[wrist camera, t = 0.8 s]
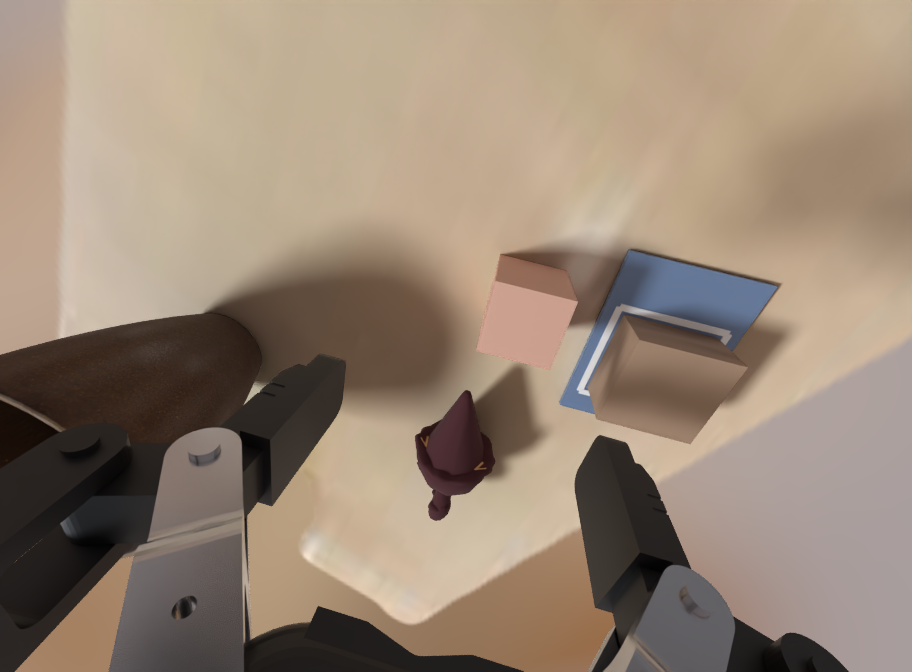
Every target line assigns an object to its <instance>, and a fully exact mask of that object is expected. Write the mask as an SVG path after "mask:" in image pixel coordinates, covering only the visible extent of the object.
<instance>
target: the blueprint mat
mask: <svg viewBox="0 0 912 672" xmlns="http://www.w3.org/2000/svg"><path fill="white" fill-rule="evenodd" d="M776 289H777V286H775V285H773V284H769V283H765V282H760V281H756V280H752V279H748V278H744V277H740V276H736V275H732V274H728V273H724V272H719V271H715V270H711V269H707V268H703V267H699V266H695V265H691V264H687V263H683V262H678V261H674V260H670V259H666V258H662V257H658V256H654V255H650V254H646V253H642V252H637V251H633V250H628V253H627V255H626V257H625V259H624V261H623V264H622V266H621V268H620V270H619V272H618V274H617V277H616V279H615V281H614V283H613V285H612V288H611V290H610V292H609V294H608V296H607V299H606V301H605V303H604V305H603V307H602V310H601V312H600V314H599V316H598V318H597V321H596V323H595V325H594V327H593V329H592V332H591V334H590V336H589V338H588V340H587V343H586V345H585V347H584V349H583V351H582V354H581V356H580V358H579V360H578V362H577V365H576V367H575V369H574V371H573V373H572V376H571V378H570V380H569V382H568V384H567V387H566V389H565V391H564V393H563V395H562V398H561V400H560V405H562V406H566V407H570V408H573V409H577V410H581V411H585V412H588V413H592V414H595V412H594V408H593V405H592V401H591V398H590V394H589V391H588V385H589V383H590V381H591V379H592V377H593V375H594V373H595V371H596V369H597V367H598V365H599V363H600V361H601V359H602V357H603V355H604V353H605V351H606V349H607V347H608V345H609V343H610V341H611V339H612V337H613V335H614V333H615V331H616V329H617V327H618V325H619V323H620V321H621V319H622V316H623V314H625V315H629V316H633V317H637V318H641V319H644V320H648V321H652V322H656V323H660V324H664V325H668V326H672V327H676V328H680V329H684V330H688V331H692V332H696V333H700V334H704V335H708V336H712V337H716V338H718V339H719V340H720V341H721V342H722V343H723V344H724V345H725V346H726V347H727V348H729V349H730V350H731V351H733V349H734V348H735V346H736V345H737V344H738V342H739V341H740V339H741V338H742V337H743V335H744V334H745V332H746V331H747V329H748V328H749V327H750V325H751V324H752V322H753V321H754V320H755V318H756V317H757V315H758V314H759V313H760V311H761V310H762V308H763V307H764V305H765V304H766V303H767V301H768V300H769V298H770V297H771V296H772V294H773V293H774V291H775V290H776Z"/></svg>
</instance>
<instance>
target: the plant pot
mask: <svg viewBox="0 0 912 672" xmlns="http://www.w3.org/2000/svg"><path fill="white" fill-rule="evenodd" d="M260 366H261V353H260V350H259V347H258V345H257V343H256V341H255V340H254V338H253V337H252V336H251V335H250V333H249V332H248V331H247V330H246V329H245V328H244V327H242V326H241V325H240V324H239V323H237V322H236V321H234V320H232V319H230V318H228V317H226V316H223V315H220V314H213V313H207V314H195V315H186V316H177V317H169V318H162V319H155V320H149V321H142V322H137V323H131V324H126V325H120V326H115V327H110V328H106V329H101V330H96V331H92V332H87V333H83V334H78V335H74V336H70V337H65V338H61V339H57V340H53V341H50V342H46V343H42V344H38V345H35V346H30V347H27V348H23V349H19V350H16V351H12V352H9V353H6V354H2V355H0V468H2V467H4V466H5V465H7V464H8V463H10V462H12V461H13V460H15V459H16V458H18V457H20V456H21V455H23V454H24V453H26V452H27V451H29V450H31V449H32V448H34V447H35V446H37V445H39V444H40V443H42V442H43V441H45V440H46V439H48V438H50V437H52V436H53V435H55V434H57V433H60V432H62V431H64V430H67V429H70V428H73V427H76V426H80V425H85V424H91V423H112V424H116V425H119V426H121V427H122V428H124V429H125V430H126V432H127V434H128V438H129V442H130V443H174V442H175V441H176V440H178V439H179V438H181V437H183V436H184V435H186V434H189V433H191V432H193V431H197V430H200V429H205V428H218V427H220V426H221V425H222V424H223V423H224V422H225V421H226V420H228V419H229V418H230V417H231V416H232V415H233V414H234V413H235V412H237V411H238V410H239V409H240V408H241V407H242V406H243V405H244V403H245V401H246V399H247V397H248V395H249V392H250V390H251V388H252V386H253V383H254V381H255V379H256V376H257V374H258V371H259V369H260ZM55 528H56V527H55ZM55 528H54V529H55ZM48 534H49V533H48ZM42 539H43V538H42ZM140 544H141V543H134V544H133V545H132V546H131V547H130V548H129V550H128V551H127V552H126V553H125V554H124V555H123V556H122V557H121V558H127V557H131V556H134V555H135V552H136V549H137V548H138V546H139V545H140Z"/></svg>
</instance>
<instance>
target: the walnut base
mask: <svg viewBox="0 0 912 672" xmlns="http://www.w3.org/2000/svg"><path fill="white" fill-rule="evenodd" d="M747 368H748V367H747V366H746V365H745V364H744V363H743V362H742V361H741V360H740V359H739V358H738V357H737V356H736V355H735V354H734V353H733V352H732V351H731V350H730V349H729V348H727V347H726V346H725V345H724V344H723V343H722V342H721V341H720V340H719V339H718V338H716V337H712V336H708V335H704V334H700V333H696V332H692V331H688V330H684V329H680V328H676V327H672V326H668V325H664V324H660V323H656V322H652V321H648V320H644V319H641V318H637V317H633V316H629V315H625V314H623V316H622V319H621V321H620V323H619V325H618V327H617V329H616V331H615V333H614V335H613V337H612V339H611V341H610V343H609V345H608V347H607V349H606V351H605V353H604V355H603V357H602V359H601V361H600V363H599V365H598V367H597V369H596V371H595V373H594V375H593V377H592V379H591V381H590V383H589V385H588V391H589V394H590V398H591V401H592V405H593V408H594V412H595V416H596V419H598V420H601V421H605V422H609V423H613V424H616V425H620V426H624V427H628V428H631V429H635V430H639V431H643V432H647V433H650V434H654V435H658V436H662V437H665V438H669V439H673V440H677V441H680V442H684V443H688V444H691V442H692V441H693V440H694V439H695V437H696V436H697V435H698V433H699V432H700V431H701V429H702V428H703V427H704V425H705V424H706V423H707V421H708V420H709V419H710V417H711V416H712V415H713V413H714V412H715V411H716V409H717V408H718V407H719V405H720V404H721V403H722V402H723V400H724V399H725V398H726V396H727V395H728V394H729V392H730V391H731V390H732V388H733V387H734V386H735V384H736V383H737V382H738V380H739V379H740V378H741V376H742V375H743V374H744V372H745V371H746V370H747Z"/></svg>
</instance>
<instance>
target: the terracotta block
mask: <svg viewBox="0 0 912 672" xmlns="http://www.w3.org/2000/svg"><path fill="white" fill-rule="evenodd" d="M577 303H578V300H577V297H576V295H575V292H574V289H573V287H572V284H571V281H570V279H569V276H568V273H567V271H565V270H561V269H557V268H553V267H549V266H545V265H541V264H537V263H533V262H529V261H525V260H521V259H517V258H513V257H509V256H505V255H501V254H500V257H499V261H498V264H497V268H496V272H495V275H494V279H493V283H492V286H491V290H490V294H489V298H488V301H487V305H486V309H485V312H484V316H483V321H482V326H481V330H480V335H479V339H478V344H477V349H476V351H479V352H483V353H486V354H490V355H494V356H498V357H502V358H506V359H509V360H513V361H517V362H521V363H525V364H529V365H532V366H536V367H540V368H544V369H548V370H550V369H551V366H552V364H553V362H554V359H555V357H556V354H557V352H558V349H559V347H560V345H561V342H562V340H563V337H564V335H565V332H566V330H567V328H568V325H569V323H570V320H571V318H572V316H573V313H574V311H575V308H576V306H577Z"/></svg>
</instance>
